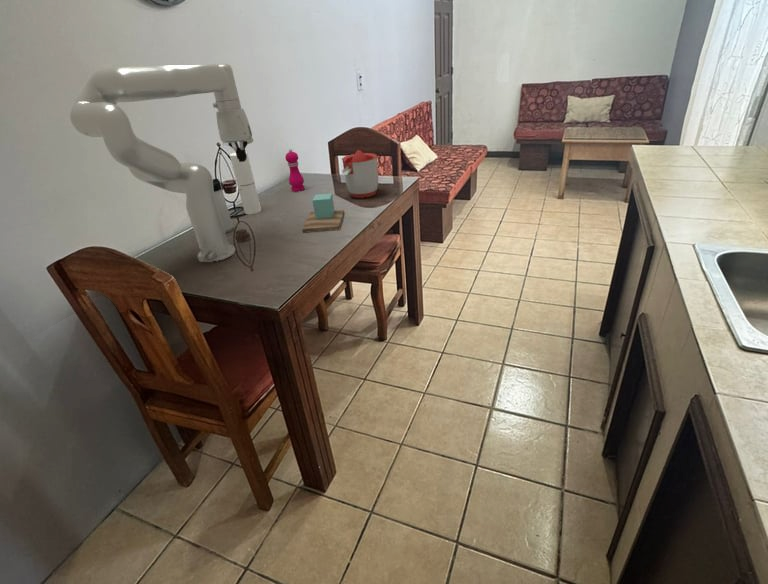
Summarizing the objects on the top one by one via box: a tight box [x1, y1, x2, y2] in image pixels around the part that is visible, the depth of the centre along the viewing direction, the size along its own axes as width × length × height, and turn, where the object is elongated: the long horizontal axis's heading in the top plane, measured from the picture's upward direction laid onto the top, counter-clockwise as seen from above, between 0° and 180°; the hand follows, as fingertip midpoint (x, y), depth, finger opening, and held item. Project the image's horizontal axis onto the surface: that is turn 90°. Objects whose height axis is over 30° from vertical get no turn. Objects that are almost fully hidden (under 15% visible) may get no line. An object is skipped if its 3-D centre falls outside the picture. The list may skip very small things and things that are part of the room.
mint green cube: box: [312, 193, 336, 219], centre depth 167 cm, size 7×7×8 cm
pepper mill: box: [285, 148, 305, 193], centre depth 203 cm, size 7×7×20 cm
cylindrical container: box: [229, 151, 262, 215], centre depth 179 cm, size 7×7×25 cm
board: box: [302, 209, 345, 233], centre depth 166 cm, size 18×14×2 cm
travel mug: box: [212, 178, 234, 234], centre depth 163 cm, size 6×7×20 cm
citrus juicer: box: [341, 149, 379, 199], centre depth 187 cm, size 16×17×20 cm
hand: (242, 160), depth 151 cm, fingers closed
